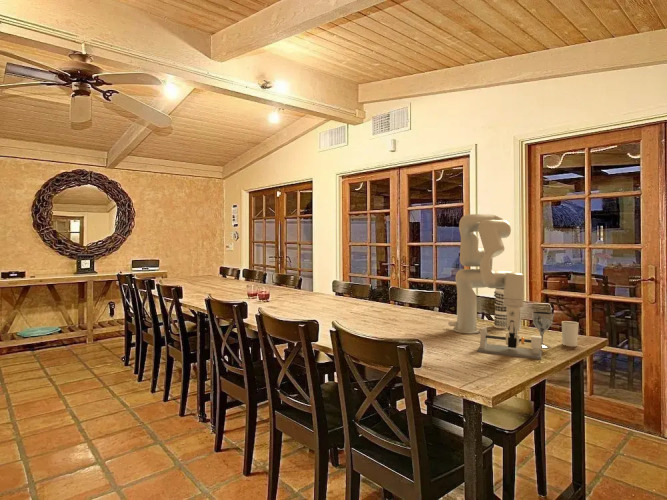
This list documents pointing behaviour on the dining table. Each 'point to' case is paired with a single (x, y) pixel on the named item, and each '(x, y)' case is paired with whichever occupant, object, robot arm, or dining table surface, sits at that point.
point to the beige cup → (569, 333)
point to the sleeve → (516, 337)
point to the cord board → (508, 351)
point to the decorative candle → (500, 309)
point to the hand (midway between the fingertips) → (512, 345)
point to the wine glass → (542, 323)
